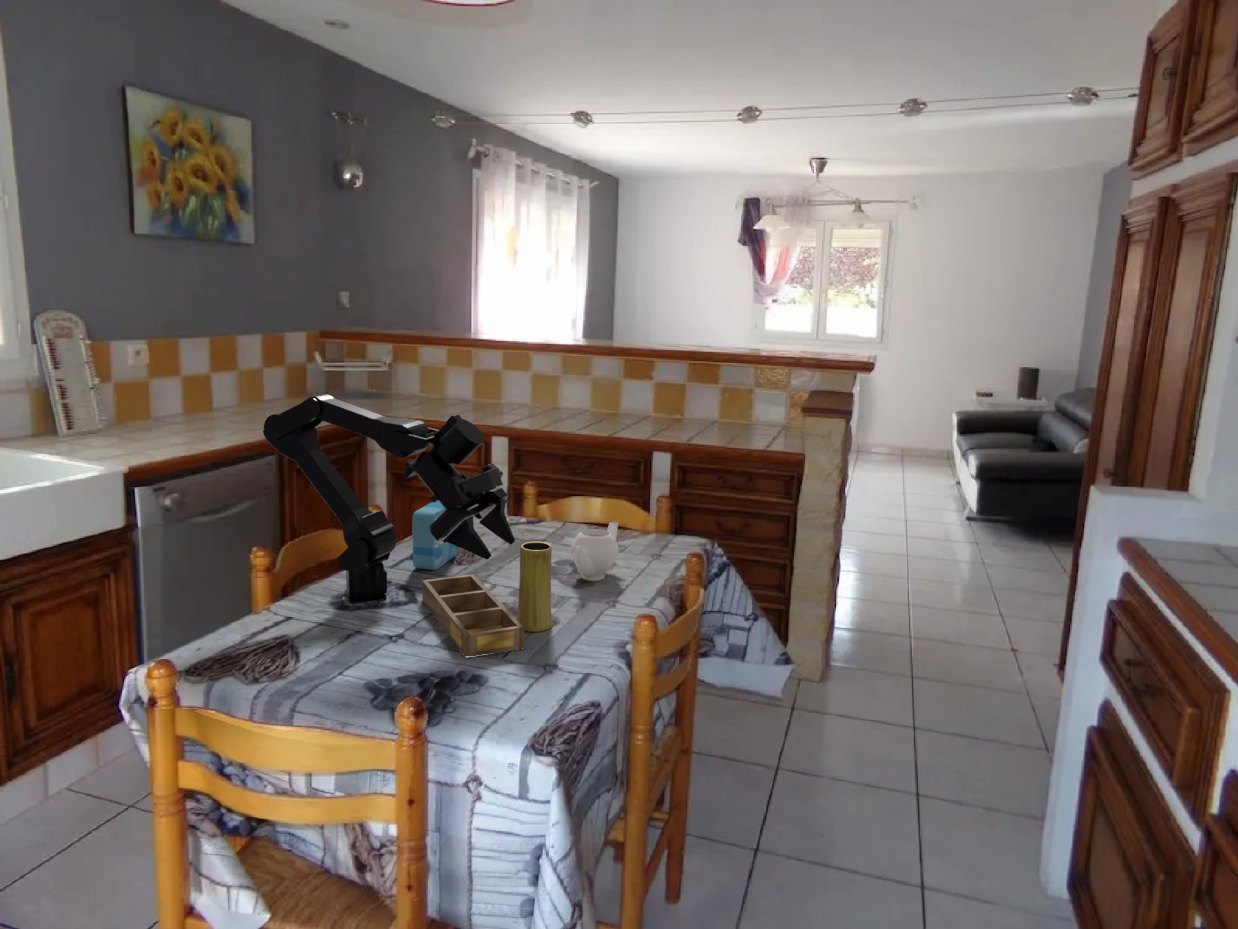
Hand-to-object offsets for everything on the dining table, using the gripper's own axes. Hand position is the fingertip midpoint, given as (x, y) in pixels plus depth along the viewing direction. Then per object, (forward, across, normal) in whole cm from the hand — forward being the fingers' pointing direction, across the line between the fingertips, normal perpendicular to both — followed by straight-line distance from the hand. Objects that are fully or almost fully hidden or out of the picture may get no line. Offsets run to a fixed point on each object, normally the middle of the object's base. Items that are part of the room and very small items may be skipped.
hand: (501, 550), depth 148 cm
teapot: (+14, +28, +4) cm, 31 cm away
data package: (-10, +23, +28) cm, 37 cm away
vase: (+14, 0, +5) cm, 14 cm away
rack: (+6, -4, +12) cm, 14 cm away
